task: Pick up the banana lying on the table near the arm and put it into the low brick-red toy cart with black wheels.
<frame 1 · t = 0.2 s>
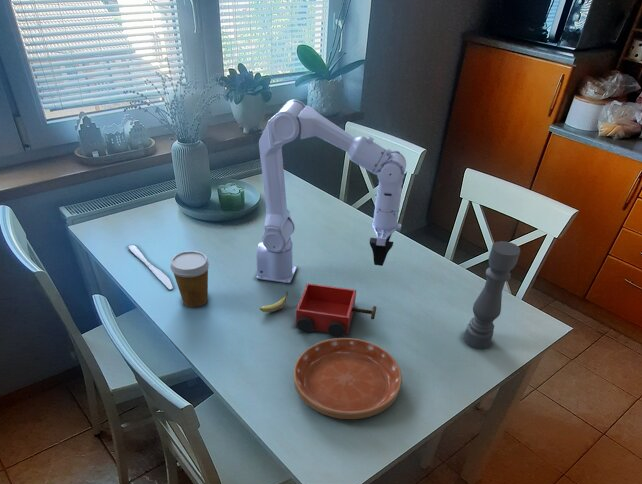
hand: (380, 256, 131), 10 cm above the table, tool pointing down, fingers open, 7 cm apart
banana: (274, 310, 131), on the table
disposable coffee cup: (195, 300, 133), on the table
cart: (326, 317, 129), on the table
saucer: (346, 384, 112), on the table
butter knife: (151, 267, 144), on the table
cart wheels: (326, 317, 129), on the table
candle holder: (476, 340, 123), on the table
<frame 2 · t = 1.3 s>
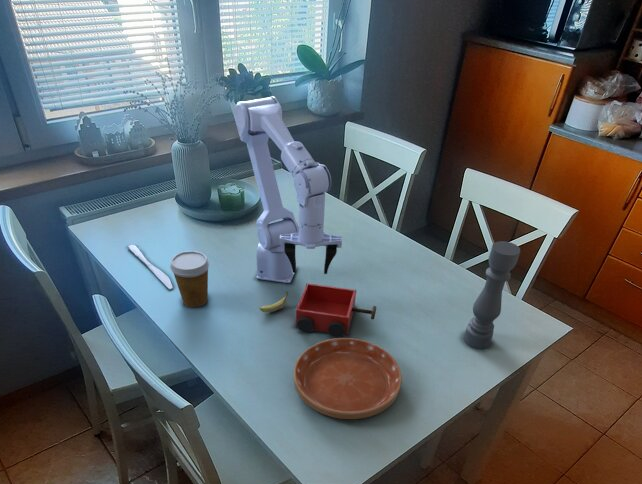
hand: (309, 271, 127), 10 cm above the table, tool pointing down, fingers open, 7 cm apart
nothing on the table moved.
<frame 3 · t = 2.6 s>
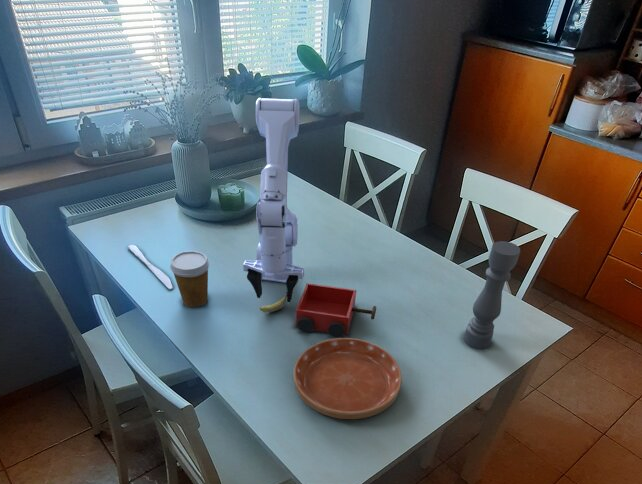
hand: (274, 298, 128), 4 cm above the table, tool pointing down, fingers open, 7 cm apart
nothing on the table moved.
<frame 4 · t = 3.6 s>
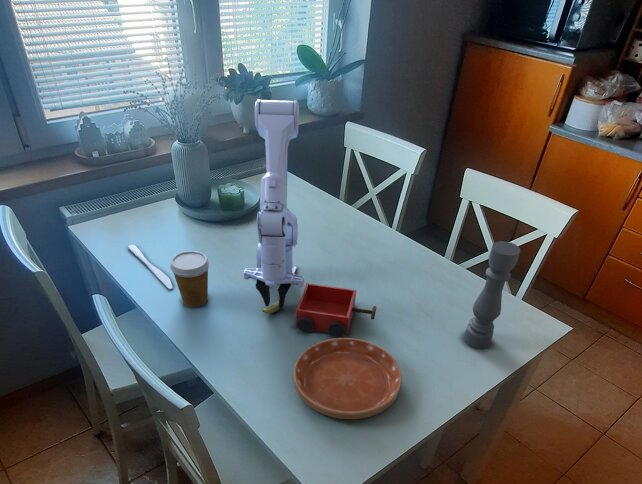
hand: (274, 305, 130), 1 cm above the table, tool pointing down, fingers closed on banana, 3 cm apart
banana: (275, 310, 131), on the table, touching gripper
everything else where it was.
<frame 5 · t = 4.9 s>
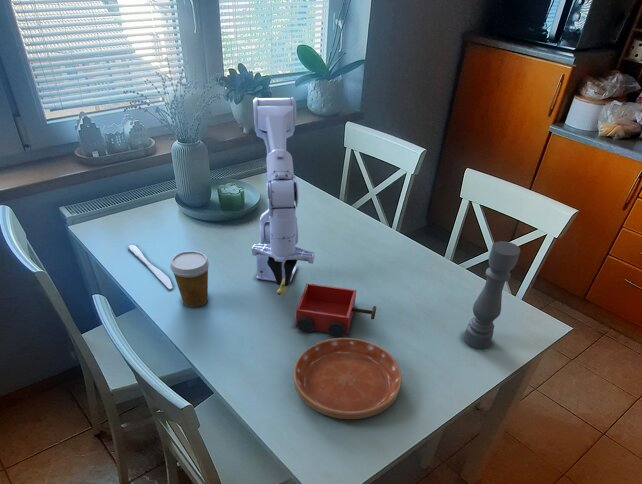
hand: (283, 283, 125), 8 cm above the table, tool pointing down, fingers closed on banana
banana: (283, 290, 126), point 6 cm above the table, touching gripper
everything else where it was.
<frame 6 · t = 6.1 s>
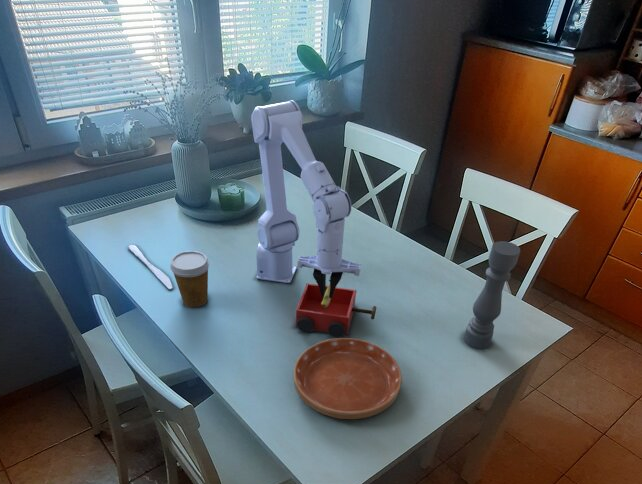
hand: (327, 295, 124), 7 cm above the table, tool pointing down, fingers closed on banana
banana: (326, 302, 126), point 4 cm above the table, touching gripper
everything else where it was.
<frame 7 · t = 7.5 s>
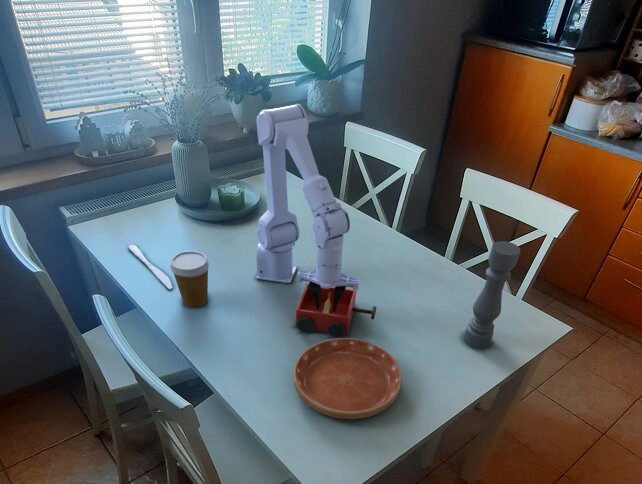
hand: (326, 308, 127), 3 cm above the table, tool pointing down, fingers open, 3 cm apart
banana: (326, 315, 128), point 1 cm above the table, touching cart
everything else where it was.
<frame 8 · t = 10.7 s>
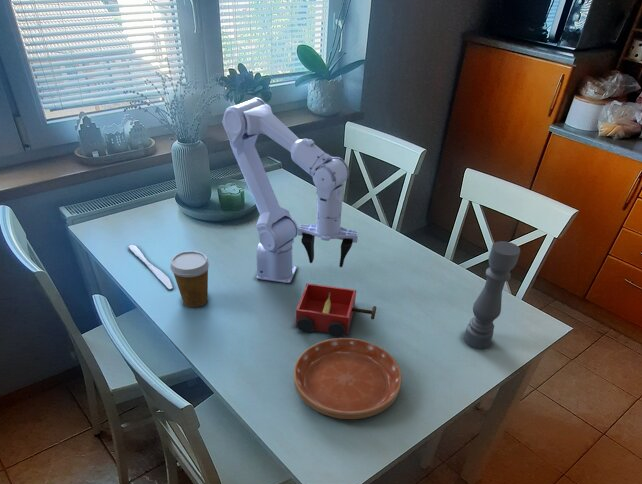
hand: (326, 263, 130), 9 cm above the table, tool pointing down, fingers open, 7 cm apart
nothing on the table moved.
at the end: banana inside the target area in the cart (0.0 cm from its centre), point 0.6 cm above the cart's base; the gripper is holding nothing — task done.
